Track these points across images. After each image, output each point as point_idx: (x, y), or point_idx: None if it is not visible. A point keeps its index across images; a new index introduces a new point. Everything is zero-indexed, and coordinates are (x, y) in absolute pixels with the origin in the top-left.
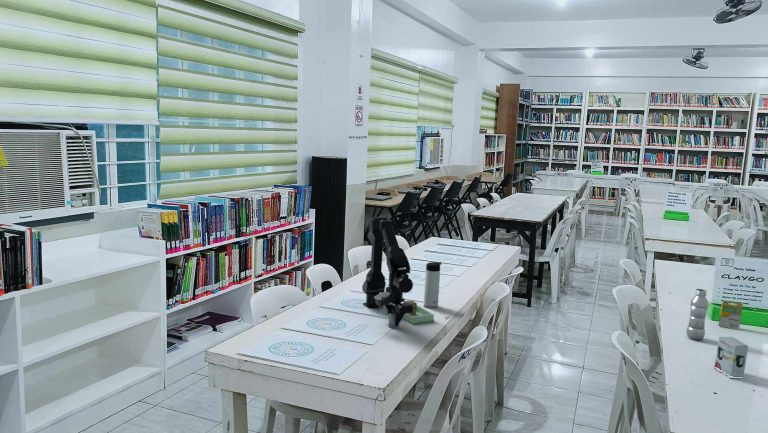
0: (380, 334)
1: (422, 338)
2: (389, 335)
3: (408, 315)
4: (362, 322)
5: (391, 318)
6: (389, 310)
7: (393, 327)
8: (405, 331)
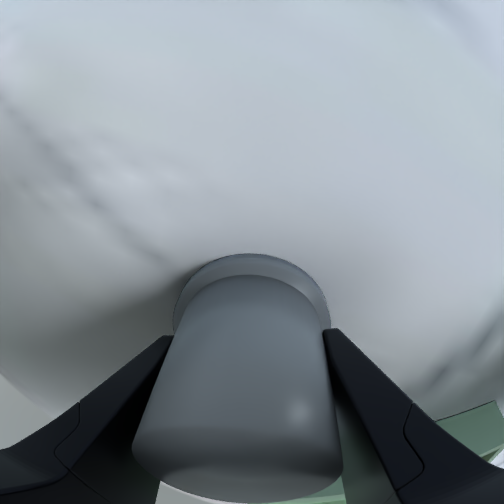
0: (32, 69)
1: (4, 363)
2: (2, 164)
3: (322, 491)
4: (492, 16)
5: (178, 373)
6: (380, 490)
7: (179, 298)
8: (93, 351)
